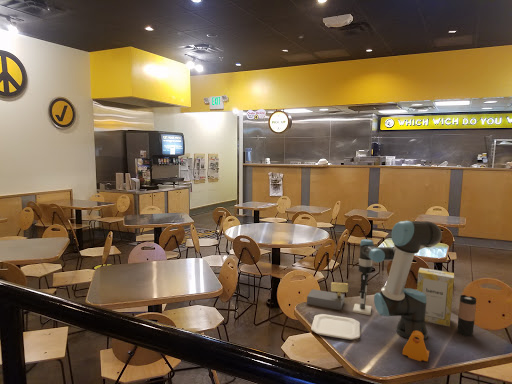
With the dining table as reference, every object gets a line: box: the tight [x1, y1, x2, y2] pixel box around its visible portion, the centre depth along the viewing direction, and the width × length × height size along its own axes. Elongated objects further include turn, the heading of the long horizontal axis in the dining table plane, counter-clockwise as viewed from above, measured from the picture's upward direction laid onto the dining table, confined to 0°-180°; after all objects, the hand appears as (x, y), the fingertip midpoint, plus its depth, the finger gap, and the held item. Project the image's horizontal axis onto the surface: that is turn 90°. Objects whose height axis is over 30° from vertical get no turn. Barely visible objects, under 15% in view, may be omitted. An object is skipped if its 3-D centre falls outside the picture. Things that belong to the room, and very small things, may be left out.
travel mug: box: [457, 294, 477, 337], centre depth 197 cm, size 8×8×20 cm
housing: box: [306, 288, 345, 311], centre depth 232 cm, size 14×21×5 cm, turn 69°
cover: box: [352, 292, 373, 316], centre depth 223 cm, size 11×10×12 cm
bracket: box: [402, 331, 430, 362], centre depth 172 cm, size 11×7×12 cm, turn 60°
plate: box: [310, 313, 361, 340], centre depth 197 cm, size 25×25×2 cm
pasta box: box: [416, 267, 455, 328], centre depth 213 cm, size 18×10×28 cm, turn 62°
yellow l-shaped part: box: [330, 281, 349, 298], centre depth 232 cm, size 10×10×9 cm
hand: (363, 299), depth 223 cm, fingers open, 13 cm apart
